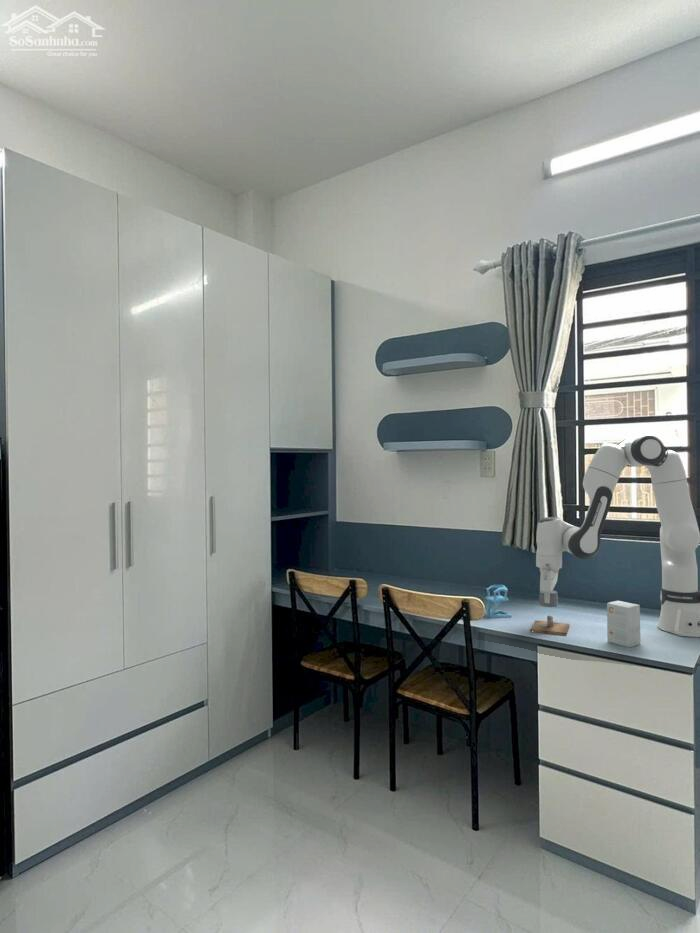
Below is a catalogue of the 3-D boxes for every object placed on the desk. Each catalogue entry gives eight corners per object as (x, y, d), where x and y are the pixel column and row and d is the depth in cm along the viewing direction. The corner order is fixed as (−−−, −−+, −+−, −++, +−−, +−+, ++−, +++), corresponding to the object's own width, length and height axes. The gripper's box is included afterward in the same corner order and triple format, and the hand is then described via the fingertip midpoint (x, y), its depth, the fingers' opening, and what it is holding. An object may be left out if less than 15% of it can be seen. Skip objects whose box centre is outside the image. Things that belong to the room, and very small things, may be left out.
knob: (558, 603, 213) (558, 589, 213) (556, 607, 208) (556, 592, 207) (540, 601, 216) (540, 587, 215) (538, 605, 210) (538, 591, 210)
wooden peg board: (569, 626, 214) (569, 614, 214) (566, 635, 203) (566, 622, 203) (535, 622, 219) (535, 610, 219) (530, 631, 209) (530, 619, 209)
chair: (482, 614, 233) (482, 584, 233) (501, 612, 235) (500, 582, 235) (493, 619, 225) (492, 588, 225) (512, 617, 228) (511, 586, 228)
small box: (640, 644, 193) (640, 604, 193) (629, 647, 190) (629, 607, 190) (618, 638, 200) (618, 599, 200) (606, 641, 197) (606, 602, 196)
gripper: (554, 568, 200) (554, 608, 201) (561, 558, 219) (560, 595, 219) (535, 566, 203) (535, 606, 203) (543, 557, 222) (543, 593, 222)
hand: (548, 600), depth 212 cm, fingers closed on knob, 6 cm apart
